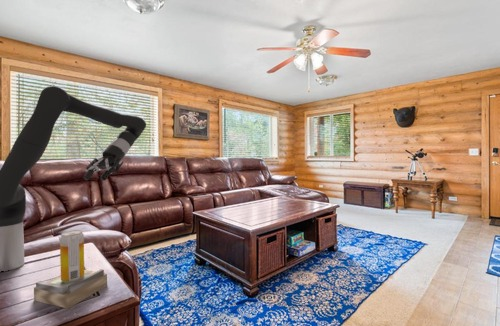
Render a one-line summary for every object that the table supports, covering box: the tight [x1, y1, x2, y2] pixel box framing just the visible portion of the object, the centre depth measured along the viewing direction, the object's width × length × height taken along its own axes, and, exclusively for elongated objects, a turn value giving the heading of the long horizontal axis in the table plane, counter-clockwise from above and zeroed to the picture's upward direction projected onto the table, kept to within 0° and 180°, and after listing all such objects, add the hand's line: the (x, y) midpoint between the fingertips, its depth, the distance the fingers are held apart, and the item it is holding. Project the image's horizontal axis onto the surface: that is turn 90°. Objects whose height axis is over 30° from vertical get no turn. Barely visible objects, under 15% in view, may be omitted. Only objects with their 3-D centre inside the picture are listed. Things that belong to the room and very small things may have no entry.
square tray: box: [33, 269, 108, 310], centre depth 77 cm, size 14×13×6 cm
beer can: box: [59, 230, 85, 283], centre depth 77 cm, size 6×6×15 cm
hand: (93, 179), depth 95 cm, fingers open, 8 cm apart
